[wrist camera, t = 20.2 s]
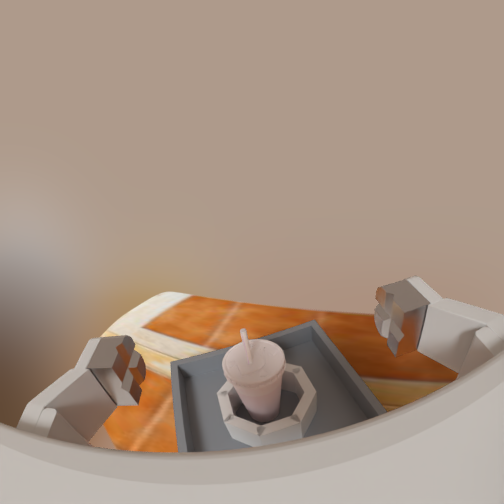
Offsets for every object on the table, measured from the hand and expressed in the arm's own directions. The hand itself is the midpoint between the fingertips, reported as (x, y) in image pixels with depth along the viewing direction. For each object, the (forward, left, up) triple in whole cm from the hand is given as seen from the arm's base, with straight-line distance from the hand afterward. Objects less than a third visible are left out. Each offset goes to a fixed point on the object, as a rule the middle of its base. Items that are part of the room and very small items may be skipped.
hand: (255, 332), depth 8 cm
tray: (-1, -13, -25) cm, 28 cm away
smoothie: (-1, -13, -24) cm, 28 cm away
